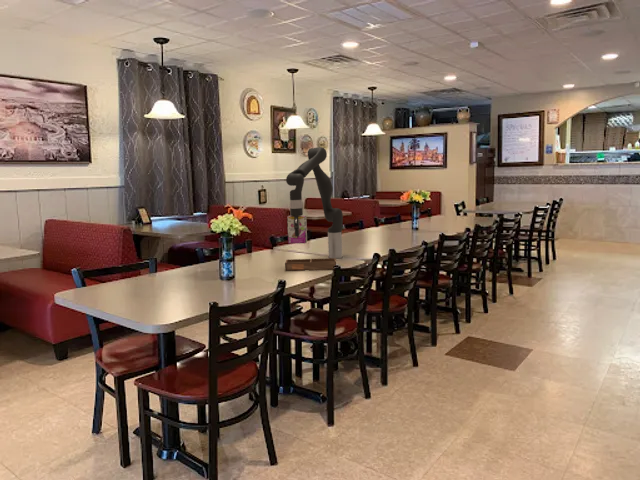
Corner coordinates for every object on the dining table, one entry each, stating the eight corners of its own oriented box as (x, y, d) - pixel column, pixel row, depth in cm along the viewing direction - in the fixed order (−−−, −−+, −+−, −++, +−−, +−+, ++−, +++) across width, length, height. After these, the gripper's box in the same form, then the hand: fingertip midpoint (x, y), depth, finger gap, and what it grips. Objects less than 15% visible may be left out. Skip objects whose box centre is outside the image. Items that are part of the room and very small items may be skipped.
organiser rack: (286, 267, 310) (286, 259, 309) (336, 266, 309) (335, 258, 308) (285, 271, 299) (284, 263, 298) (336, 269, 298) (336, 261, 297)
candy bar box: (287, 243, 300) (286, 216, 298) (289, 242, 305) (288, 215, 303) (306, 243, 299) (305, 216, 297) (307, 242, 304) (306, 215, 301)
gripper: (301, 208, 292) (302, 237, 294) (303, 206, 306) (304, 233, 308) (288, 208, 292) (290, 237, 294) (290, 206, 306) (292, 234, 309)
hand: (297, 235), depth 301 cm, fingers closed on candy bar box, 5 cm apart
